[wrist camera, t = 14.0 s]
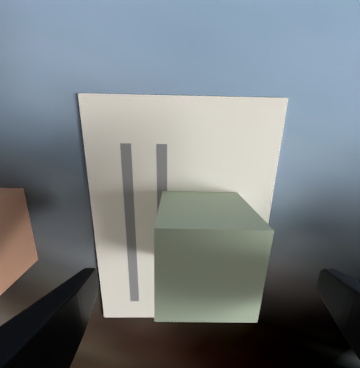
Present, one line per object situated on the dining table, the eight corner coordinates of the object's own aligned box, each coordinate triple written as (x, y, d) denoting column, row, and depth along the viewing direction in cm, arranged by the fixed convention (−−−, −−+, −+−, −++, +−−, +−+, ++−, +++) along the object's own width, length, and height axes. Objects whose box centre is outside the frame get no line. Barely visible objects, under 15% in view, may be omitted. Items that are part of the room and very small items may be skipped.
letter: (252, 314, 14) (253, 317, 14) (105, 314, 14) (104, 317, 14) (286, 98, 10) (288, 97, 10) (79, 93, 10) (77, 93, 10)
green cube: (229, 256, 13) (257, 322, 8) (162, 255, 13) (154, 321, 8) (237, 192, 11) (274, 230, 7) (162, 190, 11) (153, 228, 7)
